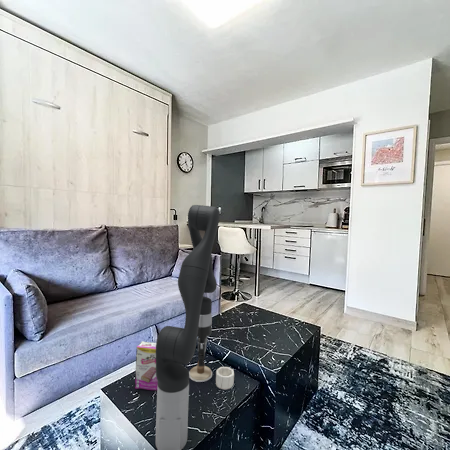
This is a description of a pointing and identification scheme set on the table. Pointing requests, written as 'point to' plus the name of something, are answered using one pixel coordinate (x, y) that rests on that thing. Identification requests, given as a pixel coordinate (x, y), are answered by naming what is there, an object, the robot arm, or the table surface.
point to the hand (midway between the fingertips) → (201, 360)
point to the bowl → (224, 378)
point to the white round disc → (200, 380)
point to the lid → (200, 372)
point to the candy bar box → (146, 366)
